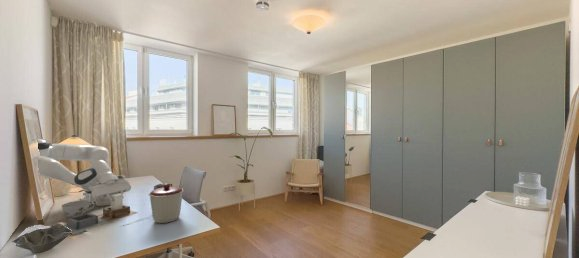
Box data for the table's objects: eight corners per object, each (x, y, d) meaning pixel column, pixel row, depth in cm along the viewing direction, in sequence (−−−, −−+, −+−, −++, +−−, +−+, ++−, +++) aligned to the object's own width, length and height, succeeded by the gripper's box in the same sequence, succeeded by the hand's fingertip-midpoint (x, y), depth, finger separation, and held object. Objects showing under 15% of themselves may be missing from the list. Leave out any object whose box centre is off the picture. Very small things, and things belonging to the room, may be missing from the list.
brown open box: (94, 217, 142) (94, 209, 142) (121, 209, 155) (121, 202, 155) (111, 223, 134) (111, 214, 134) (138, 214, 147) (138, 206, 147)
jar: (98, 201, 172) (98, 177, 171) (120, 199, 177) (120, 175, 177) (92, 207, 160) (92, 181, 160) (116, 204, 165) (116, 179, 165)
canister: (144, 228, 127) (143, 188, 127) (153, 215, 145) (153, 181, 144) (181, 224, 132) (180, 186, 132) (186, 212, 149) (185, 179, 149)
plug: (110, 214, 144) (110, 194, 144) (117, 212, 147) (117, 193, 147) (115, 215, 142) (115, 195, 141) (122, 213, 145) (122, 194, 145)
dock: (56, 228, 126) (56, 219, 126) (90, 218, 140) (90, 210, 140) (73, 235, 119) (73, 225, 119) (107, 224, 132) (107, 215, 132)
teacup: (62, 222, 135) (62, 208, 135) (60, 216, 143) (60, 203, 143) (96, 214, 146) (96, 202, 146) (92, 210, 154) (92, 197, 154)
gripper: (89, 182, 138) (99, 201, 134) (127, 175, 156) (136, 192, 152) (85, 189, 140) (95, 208, 136) (123, 181, 158) (132, 198, 154)
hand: (117, 199), depth 144 cm, fingers closed on plug, 4 cm apart
